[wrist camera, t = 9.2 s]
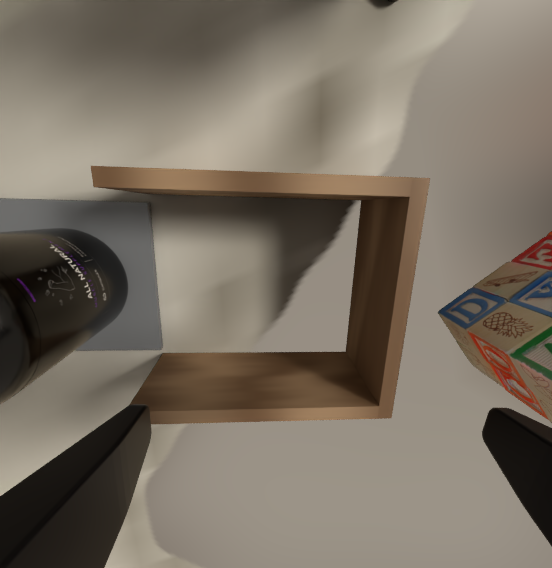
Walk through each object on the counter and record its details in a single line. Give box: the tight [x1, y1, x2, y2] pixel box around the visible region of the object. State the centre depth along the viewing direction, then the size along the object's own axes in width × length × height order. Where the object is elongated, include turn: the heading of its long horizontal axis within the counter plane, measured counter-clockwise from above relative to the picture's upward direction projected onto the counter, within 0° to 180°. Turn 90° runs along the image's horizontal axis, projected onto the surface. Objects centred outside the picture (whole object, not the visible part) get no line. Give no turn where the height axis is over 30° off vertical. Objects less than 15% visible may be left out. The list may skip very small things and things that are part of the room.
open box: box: [91, 166, 430, 424], centre depth 16 cm, size 14×13×6 cm
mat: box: [0, 198, 163, 351], centre depth 18 cm, size 10×10×1 cm
